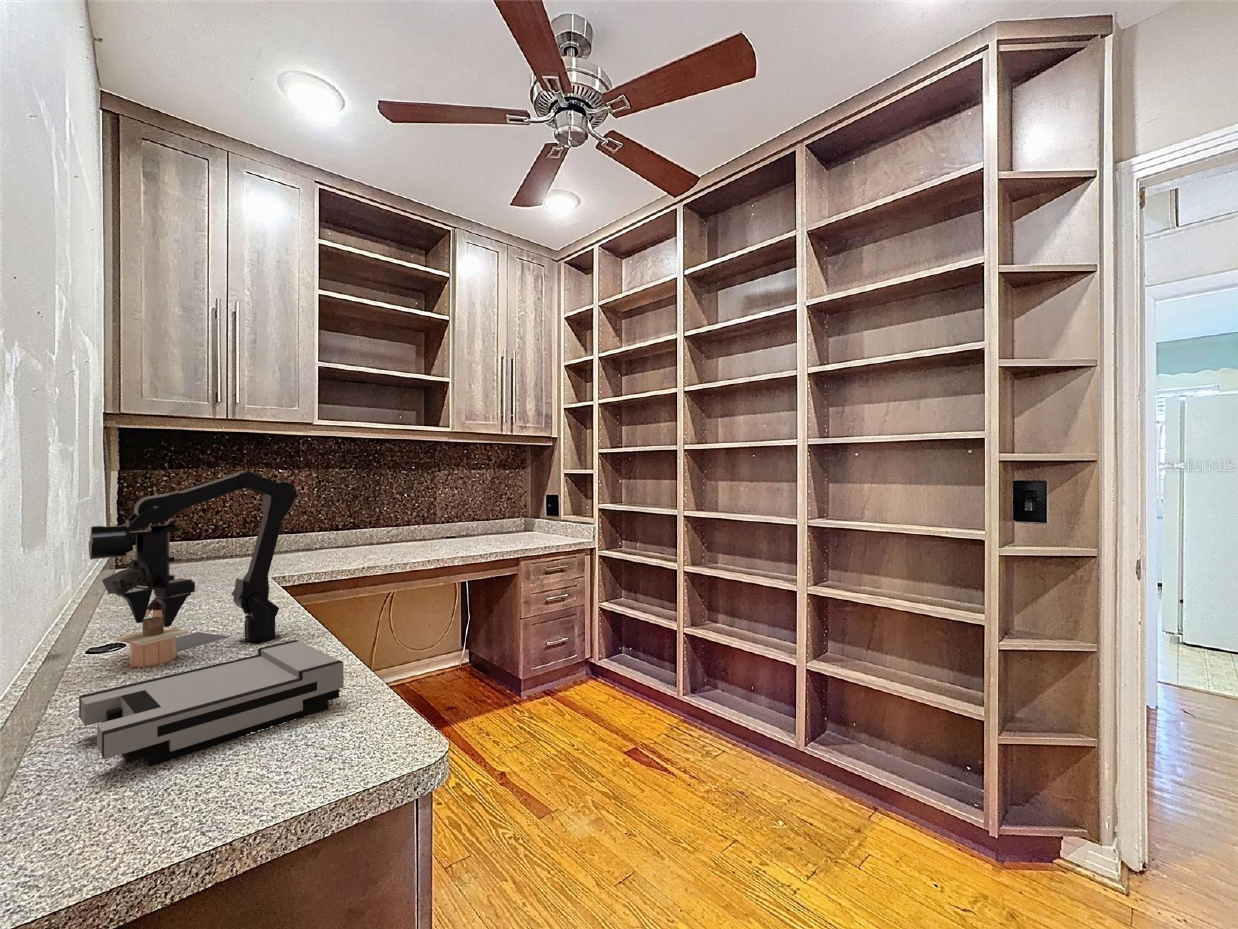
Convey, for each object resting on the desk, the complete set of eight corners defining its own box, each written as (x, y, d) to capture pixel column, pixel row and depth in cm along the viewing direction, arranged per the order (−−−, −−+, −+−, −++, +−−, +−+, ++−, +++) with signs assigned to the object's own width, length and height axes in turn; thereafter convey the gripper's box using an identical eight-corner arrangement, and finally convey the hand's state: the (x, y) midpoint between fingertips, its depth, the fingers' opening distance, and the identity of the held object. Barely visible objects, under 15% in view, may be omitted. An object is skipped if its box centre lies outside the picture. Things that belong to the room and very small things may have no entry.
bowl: (184, 658, 128) (184, 633, 128) (144, 670, 120) (144, 644, 120) (161, 654, 130) (161, 630, 130) (121, 666, 123) (121, 640, 123)
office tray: (79, 740, 90) (79, 688, 90) (296, 680, 115) (296, 639, 115) (104, 786, 77) (103, 726, 77) (343, 708, 102) (343, 662, 102)
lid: (188, 633, 128) (188, 615, 128) (143, 645, 119) (143, 625, 119) (162, 629, 131) (162, 611, 131) (116, 640, 123) (116, 621, 123)
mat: (230, 638, 142) (230, 636, 142) (179, 653, 131) (179, 651, 131) (197, 633, 147) (197, 631, 147) (145, 647, 135) (145, 646, 135)
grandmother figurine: (156, 638, 143) (155, 587, 143) (141, 638, 143) (140, 587, 143) (180, 629, 151) (180, 581, 151) (166, 629, 151) (165, 581, 151)
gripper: (81, 557, 121) (82, 631, 121) (139, 561, 114) (139, 639, 114) (140, 549, 131) (141, 617, 131) (196, 553, 125) (197, 624, 125)
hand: (153, 624), depth 125 cm, fingers open, 9 cm apart
